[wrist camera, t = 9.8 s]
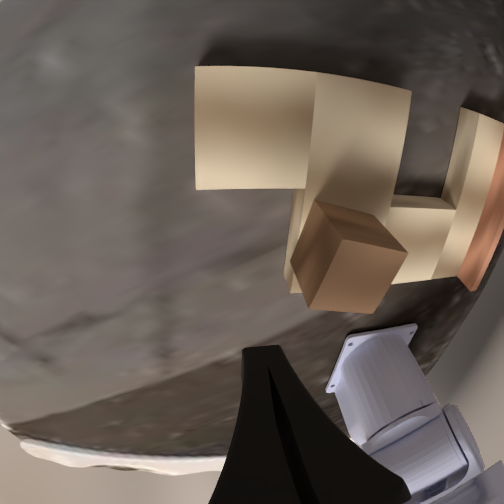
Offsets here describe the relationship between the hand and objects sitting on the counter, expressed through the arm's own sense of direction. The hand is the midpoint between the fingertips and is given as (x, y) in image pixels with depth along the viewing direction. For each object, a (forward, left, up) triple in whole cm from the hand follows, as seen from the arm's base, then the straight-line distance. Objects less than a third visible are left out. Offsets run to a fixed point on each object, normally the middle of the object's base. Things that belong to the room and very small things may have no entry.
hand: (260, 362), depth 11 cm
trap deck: (+3, -8, -9) cm, 13 cm away
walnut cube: (+1, -5, -7) cm, 9 cm away
